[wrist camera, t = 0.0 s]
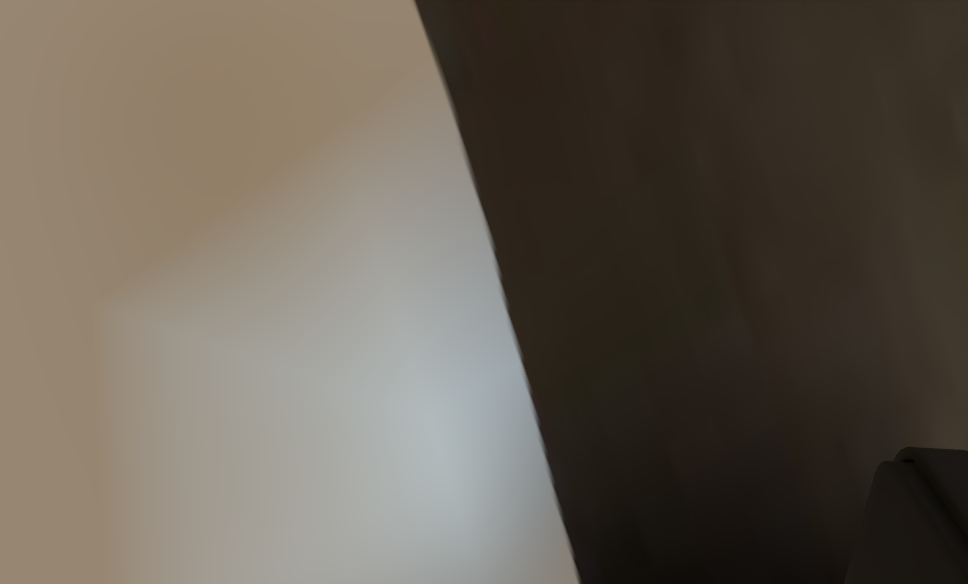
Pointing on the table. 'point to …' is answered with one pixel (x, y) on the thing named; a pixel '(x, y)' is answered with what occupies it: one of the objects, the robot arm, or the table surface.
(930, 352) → the table surface
